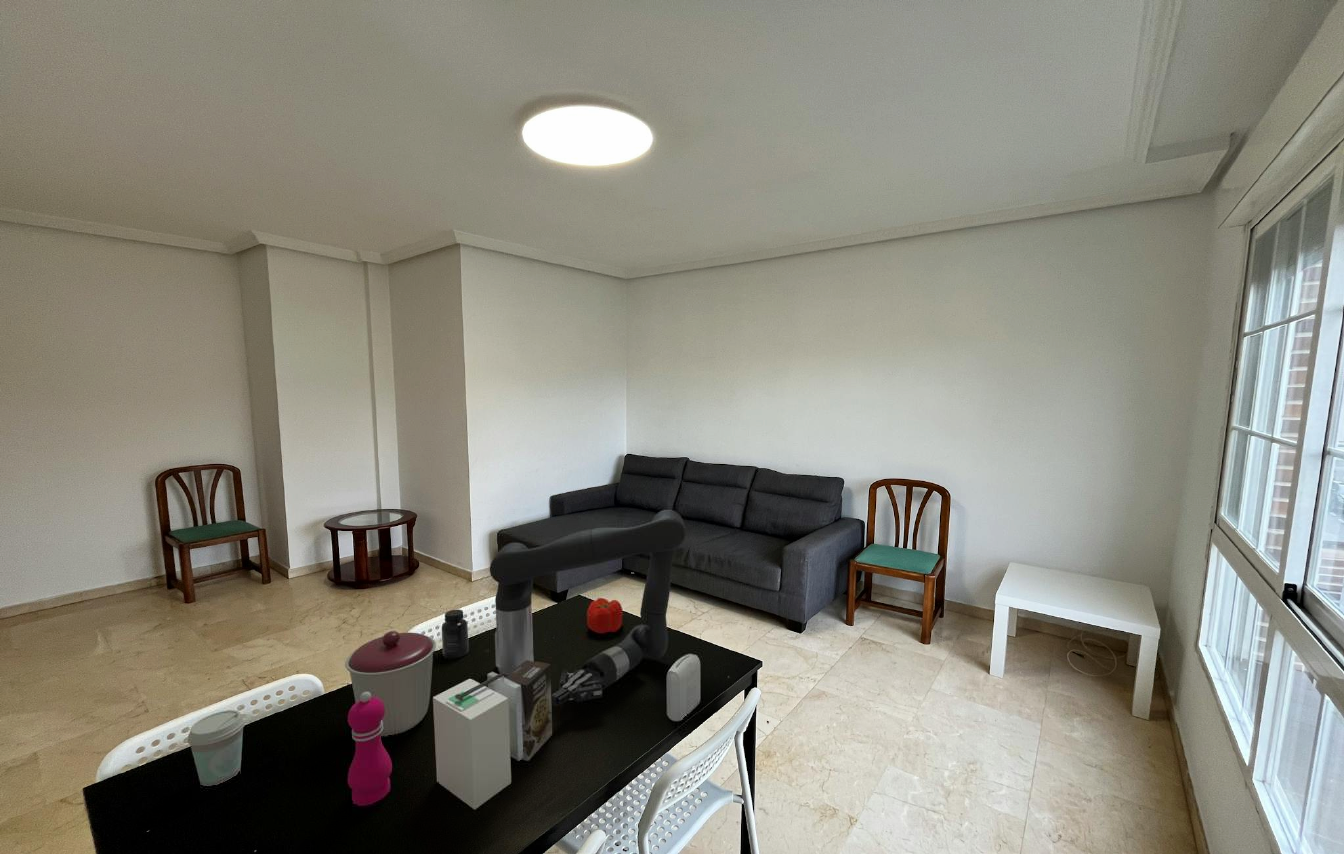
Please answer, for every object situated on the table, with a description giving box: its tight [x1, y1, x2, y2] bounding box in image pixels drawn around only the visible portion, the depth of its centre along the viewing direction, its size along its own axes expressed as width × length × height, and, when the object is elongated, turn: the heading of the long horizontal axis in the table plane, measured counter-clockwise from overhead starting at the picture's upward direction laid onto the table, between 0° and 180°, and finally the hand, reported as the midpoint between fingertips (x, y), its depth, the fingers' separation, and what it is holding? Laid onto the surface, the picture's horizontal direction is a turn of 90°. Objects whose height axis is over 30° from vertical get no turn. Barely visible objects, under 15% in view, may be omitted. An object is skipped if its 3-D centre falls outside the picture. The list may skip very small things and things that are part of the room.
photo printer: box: [666, 653, 701, 722], centre depth 127 cm, size 10×4×12 cm, turn 147°
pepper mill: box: [347, 692, 393, 807], centre depth 101 cm, size 7×7×20 cm
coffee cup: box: [187, 709, 246, 786], centre depth 106 cm, size 8×8×12 cm
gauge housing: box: [432, 678, 512, 810], centre depth 104 cm, size 12×8×17 cm, turn 54°
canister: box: [344, 630, 437, 737], centre depth 123 cm, size 18×18×21 cm
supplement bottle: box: [441, 608, 470, 660], centre depth 154 cm, size 7×7×12 cm
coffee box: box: [504, 660, 553, 761], centre depth 115 cm, size 9×6×16 cm
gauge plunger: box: [455, 671, 523, 762], centre depth 106 cm, size 9×11×16 cm
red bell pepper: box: [586, 597, 624, 634], centre depth 168 cm, size 11×12×9 cm
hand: (553, 701), depth 121 cm, fingers closed
